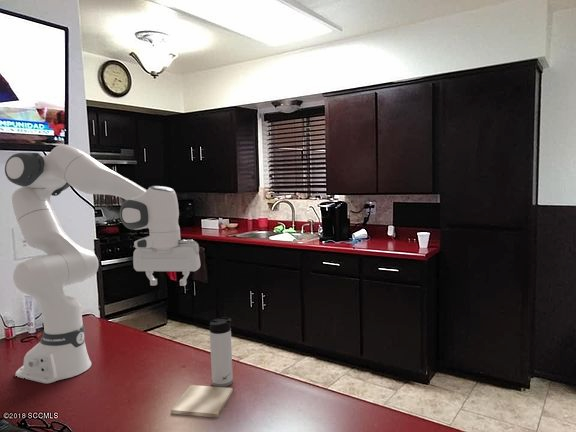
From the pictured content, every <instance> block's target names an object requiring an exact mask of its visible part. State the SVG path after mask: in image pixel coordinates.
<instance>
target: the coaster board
mask: <svg viewBox="0 0 576 432" xmlns="http://www.w3.org/2000/svg"><path fill="white" fill-rule="evenodd" d="M233 390H234V389H233V387H216V386H213V385H212V386H210V385H195V384H190V385H189V386H188V388H187V389H186V390H185V391H184V393H183V394H182V395H181V397H179V399H178V401H176V403H175V404H174V406H173V407H171V409H170V412H171V414H173V415H185V416H195V417H208V418H209V417H210V418H219V416H220V414H221V412H222V411H223V409H224V408H225V405H226V404H227V402H228V401H229V398H231V395H232V393H233Z"/></svg>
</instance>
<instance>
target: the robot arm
mask: <svg viewBox="0 0 576 432" xmlns="http://www.w3.org/2000/svg"><path fill="white" fill-rule="evenodd" d="M4 174H5V176H6V178H7V180H8V181H9V182H10V183H12V184H14V185H16V186H19V188H17V189H16V190H14V192H13V193H12V196H11V199H12V200H11V202H12V208H13V213H14V216H15V219H16V221H17V224H18V226H19V229H20V231H21V234H22V236H23V239H24V242H25V243H26V245H28V246H29V247H31V248H34V249H37V250H40V251H42V252H43V253H45V254H47V255H40V256H35V257H32V258H29V259H27V260H24V261H22V262H19V263H18V264H17V265H16V267H15V268H14V270H13V275H12V279H13V280H12V281H13V283H14V285H15V288H17V290H19V291H20V292H21V293H23V294H25V295H28V296H29V297H31V298H33V299H34V301H36V303H37V305H38V306H39V308H40V311H41V315H42V322H43V328H44V329H43V330H42V331H41V332H38V333H36V335H37V336H36V338H40V337H41V338H40V341H39V342H38V343H37V344H36V345H34V346H33V347H32V348H31V349H30V350H28V351H27V352H26V353H25V355H24V357H23V365H22V366H21V367H19V368H18V369H17V370H16V372H15V375H14V376H15V377H16V376H17V378H21V379H24V378H25V380H30V381H34V382H38V383H42V384H51V383H55V382H56V381H60V380H64V379H69V378H73V377H75V376H78V375H81V374H82V373H84V372H86V371H88V370H89V369H90V368H91V367H92V361H91V359H90V357H89V354H88V350H87V349H88V348H87V346H86V341H85V339H86V331H85V324H84V323H83V315H82V305H81V302H80V301H79V300H78V299H77V298H75V297H73V296H69V295H66V294H65V293H64V287H67V286H71V285H73V284H77V283H81V282H84V281H86V280H88V279H90V278H92V277H94V276H95V275H97V272H98V271H99V270H98V269H99V265H100V264H99V259H98V257H97V255H96V254H95V252H93V251H92V250H91V249H87V248H86V247H83V246H81V245H79V244H78V243H77V242H75V241H74V240H73V239H72V238H71V237H70V236H69V235H68V234H67V233H66V232H65V230H64V227H62V224H61V222H60V220H59V218H58V216H57V213H56V211H55V209H54V207H53V205H52V201H51V196H53V197H56V196H59V195H60V194H61V193H62V192H63V191H65V190H67V189H69V188H70V186H71V187H72V188H74V189H75V190H77V191H80V192H82V193H83V194H89V195H104V196H105V195H107V196H115V197H119V198H122V199H123V200H124V201H123V203H122V204H121V205H120V208H119V209H120V210H119V218H120V221H121V223H122V224H123V226H124V227H125V228H127V229H129V230H135V231H137V230H143V229H148V232H149V235H146V236H144V237H142V238H139V239H137V240H135V241H133V245H134V248H135V250H134V251H133V257H132V263H133V269H134V270H135V271H136V272H145V275H146V277H147V279H148V280H149V285H150V286H157V285H158V278H155V276H154V275H153V274H154V272H182V275H183V277H182V278H180V280H179V286H180V287H181V286H183V287H185V286H186V285H187V283H188V282H187V279H188V277H189V275H190V273H191V272H196V271H198V270H199V269H200V268H201V258H200V253H199V252H200V245H199V243H198V241H195V240H193V239H182V238H181V228H180V225H179V218H180V217H179V216H180V209H179V202H178V197H177V193H176V191H175V190H174V188H171V187H169V186H163V185H161V186H160V185H152V186H149V187H148V189H146V188H144V187H142V186H141V185H139V184H137V183H136V182H134V181H133V180H130V179H129V178H127V177H125V176H123V175H121V174H120V173H118V172H117V171H114V170H112V169H110V168H109V167H107V166H106V165H104V164H103V163H101V162H99V161H98V159H95V158H94V157H92V156H91V155H89V154H88V153H86V152H85V151H83V150H81V149H79V148H76V147H74V146H72V145H71V144H59V145H57V146H55V147H53V149H51V151H50V152H49V153H48V154H47V155H42V154H40V153H39V152H18V153H14V154H12V155H11V156H9V157H8V159H7V160H6V162H5V166H4Z"/></svg>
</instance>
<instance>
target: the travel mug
mask: <svg viewBox="0 0 576 432" xmlns="http://www.w3.org/2000/svg"><path fill="white" fill-rule="evenodd" d="M231 323H232V318H231V317H230V318H229V317H226V316H225V317H219V318H215V319H212V321H210V322H209V343H210V344H209V345H210V348H209V349H210V364H211V365H210V366H211V367H210V368H211V369H210V370H211V385H212V386H213V387H225V388H227V387H229V386H230V385H231V384H233V381H234V379H233V377H234V376H233V375H234V374H233V372H234V371H233V353H232V352H233V351H232V347H233V346H232V331H231V330H232V328H231Z"/></svg>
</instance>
